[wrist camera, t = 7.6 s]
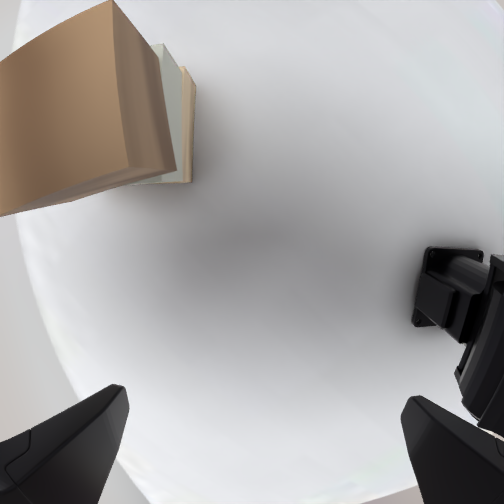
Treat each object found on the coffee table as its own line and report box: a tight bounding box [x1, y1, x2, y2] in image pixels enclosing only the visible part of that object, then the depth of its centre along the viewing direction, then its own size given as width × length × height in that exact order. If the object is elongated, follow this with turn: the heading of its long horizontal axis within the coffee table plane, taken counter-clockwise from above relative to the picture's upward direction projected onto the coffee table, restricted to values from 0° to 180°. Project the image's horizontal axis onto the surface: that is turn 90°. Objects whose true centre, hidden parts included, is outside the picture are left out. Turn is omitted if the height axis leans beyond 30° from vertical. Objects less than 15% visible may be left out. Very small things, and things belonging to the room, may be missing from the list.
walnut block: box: [0, 0, 177, 217], centre depth 8 cm, size 5×5×5 cm
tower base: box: [149, 66, 196, 184], centre depth 16 cm, size 6×6×4 cm
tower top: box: [122, 44, 183, 186], centre depth 12 cm, size 6×6×4 cm
